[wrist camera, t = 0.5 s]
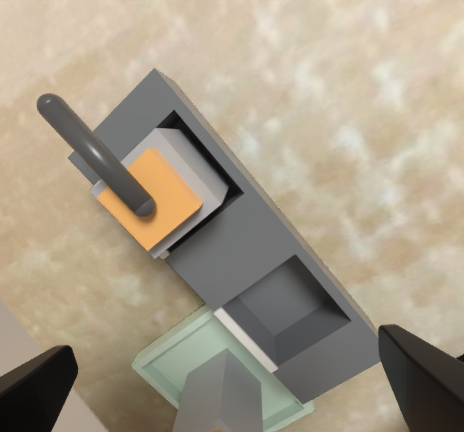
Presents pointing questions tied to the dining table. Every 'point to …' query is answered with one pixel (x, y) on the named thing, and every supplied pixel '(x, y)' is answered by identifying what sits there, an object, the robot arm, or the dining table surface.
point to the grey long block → (250, 257)
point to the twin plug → (145, 178)
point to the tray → (202, 349)
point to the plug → (220, 398)
